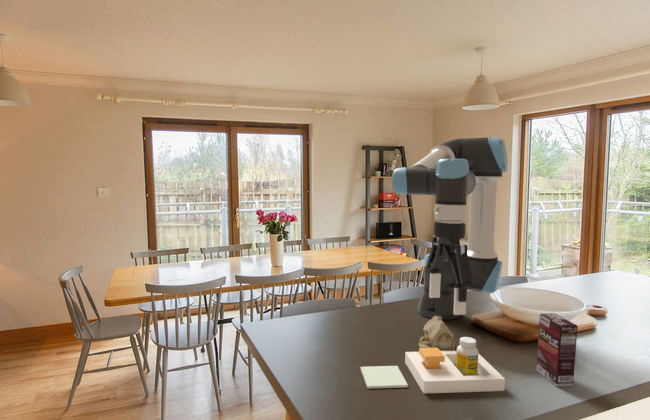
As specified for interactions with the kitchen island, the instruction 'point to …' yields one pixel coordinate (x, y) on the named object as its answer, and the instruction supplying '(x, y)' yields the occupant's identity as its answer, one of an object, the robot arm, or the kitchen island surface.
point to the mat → (383, 377)
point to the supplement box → (556, 349)
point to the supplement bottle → (467, 357)
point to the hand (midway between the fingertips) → (446, 305)
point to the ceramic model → (437, 335)
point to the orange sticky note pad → (431, 357)
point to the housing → (453, 375)
